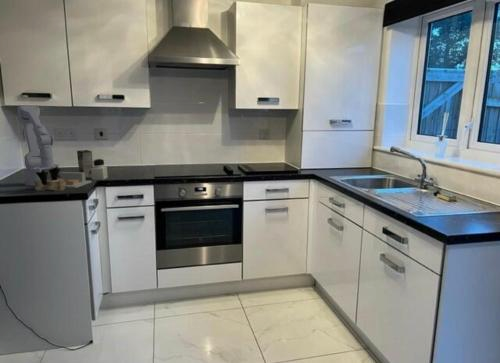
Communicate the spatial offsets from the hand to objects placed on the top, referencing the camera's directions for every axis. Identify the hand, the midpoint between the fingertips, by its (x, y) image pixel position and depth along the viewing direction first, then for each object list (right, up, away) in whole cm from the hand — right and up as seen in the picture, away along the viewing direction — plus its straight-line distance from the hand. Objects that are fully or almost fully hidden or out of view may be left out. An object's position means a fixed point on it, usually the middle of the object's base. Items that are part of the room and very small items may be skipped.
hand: (49, 183), depth 196 cm
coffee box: (+2, +4, +39) cm, 39 cm away
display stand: (+3, -1, +13) cm, 14 cm away
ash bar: (0, -4, +1) cm, 4 cm away
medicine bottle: (+15, +2, +29) cm, 33 cm away
